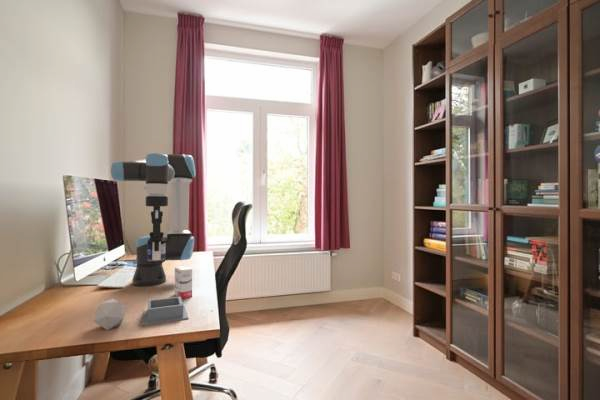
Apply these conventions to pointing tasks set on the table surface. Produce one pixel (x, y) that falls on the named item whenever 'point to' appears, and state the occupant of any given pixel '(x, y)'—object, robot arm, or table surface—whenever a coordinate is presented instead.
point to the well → (164, 311)
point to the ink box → (183, 282)
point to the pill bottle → (149, 249)
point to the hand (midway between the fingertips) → (156, 258)
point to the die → (110, 314)
